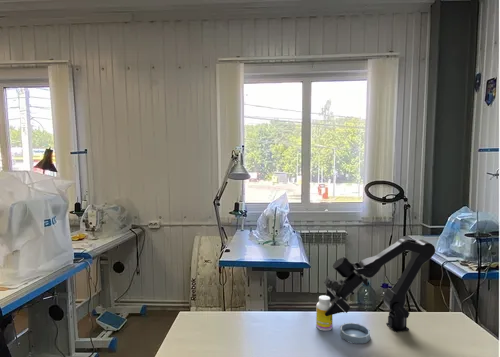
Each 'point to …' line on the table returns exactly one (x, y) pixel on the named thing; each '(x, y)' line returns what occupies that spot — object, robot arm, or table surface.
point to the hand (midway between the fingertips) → (322, 310)
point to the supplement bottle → (323, 313)
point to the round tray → (355, 333)
